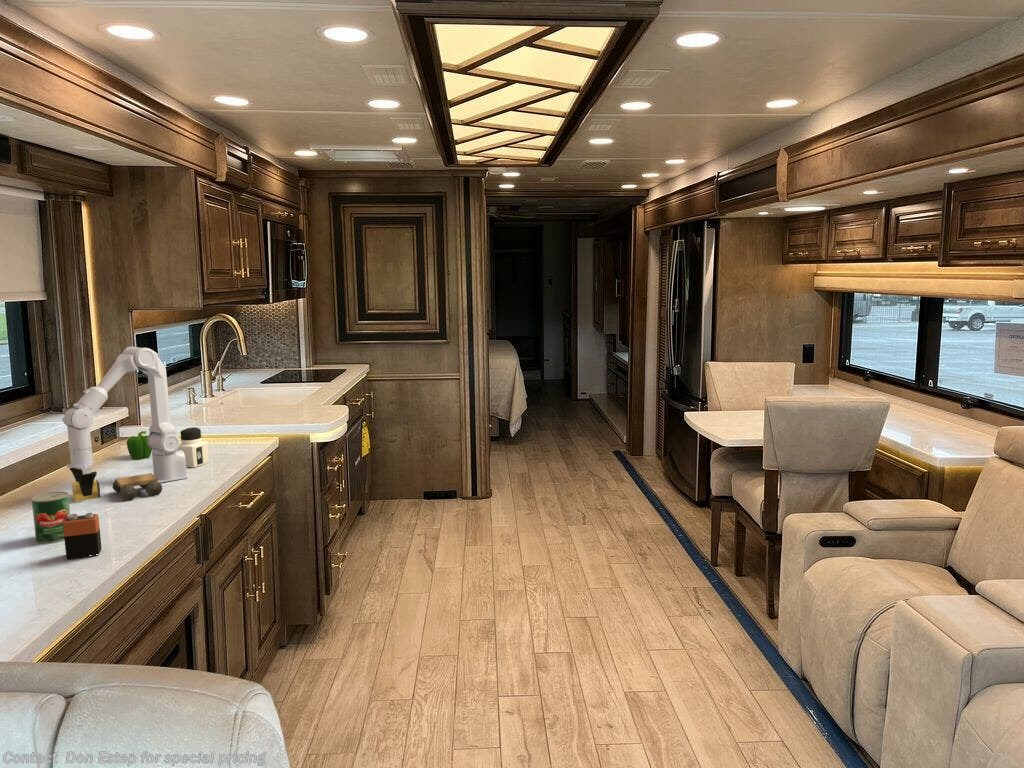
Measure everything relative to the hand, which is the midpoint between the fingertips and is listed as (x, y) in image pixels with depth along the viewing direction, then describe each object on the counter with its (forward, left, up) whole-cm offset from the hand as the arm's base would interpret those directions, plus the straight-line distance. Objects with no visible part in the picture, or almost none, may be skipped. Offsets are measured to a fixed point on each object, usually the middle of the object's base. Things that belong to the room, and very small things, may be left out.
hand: (85, 492), depth 218 cm
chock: (0, 0, -2) cm, 2 cm away
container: (-36, -20, -2) cm, 41 cm away
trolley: (-13, +6, -2) cm, 14 cm away
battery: (+8, +52, -2) cm, 53 cm away
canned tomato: (+12, +34, -2) cm, 36 cm away
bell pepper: (-24, -43, -2) cm, 49 cm away
